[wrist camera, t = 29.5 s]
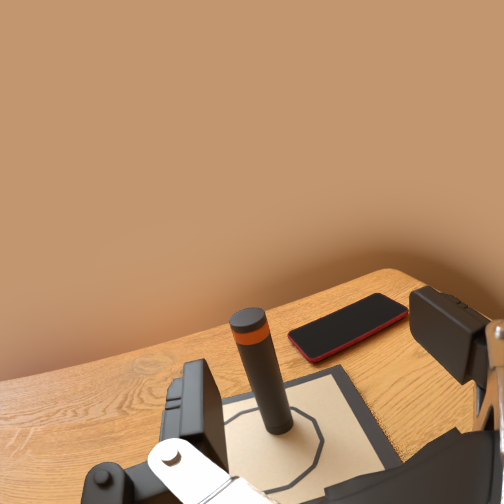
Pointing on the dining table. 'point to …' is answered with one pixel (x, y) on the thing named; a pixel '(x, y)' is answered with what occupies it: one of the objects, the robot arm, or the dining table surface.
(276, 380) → the marker
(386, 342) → the dining table surface
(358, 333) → the smartphone
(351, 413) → the board
